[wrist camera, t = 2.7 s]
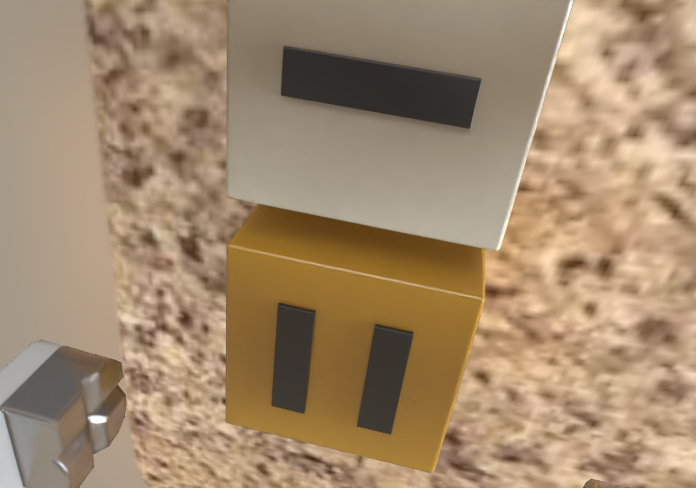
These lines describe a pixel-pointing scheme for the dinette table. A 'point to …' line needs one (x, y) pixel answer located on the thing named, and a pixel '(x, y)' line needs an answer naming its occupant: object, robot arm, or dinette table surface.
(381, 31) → the white block
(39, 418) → the robot arm
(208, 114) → the dinette table surface
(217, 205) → the dinette table surface
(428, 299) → the yellow striped cube
